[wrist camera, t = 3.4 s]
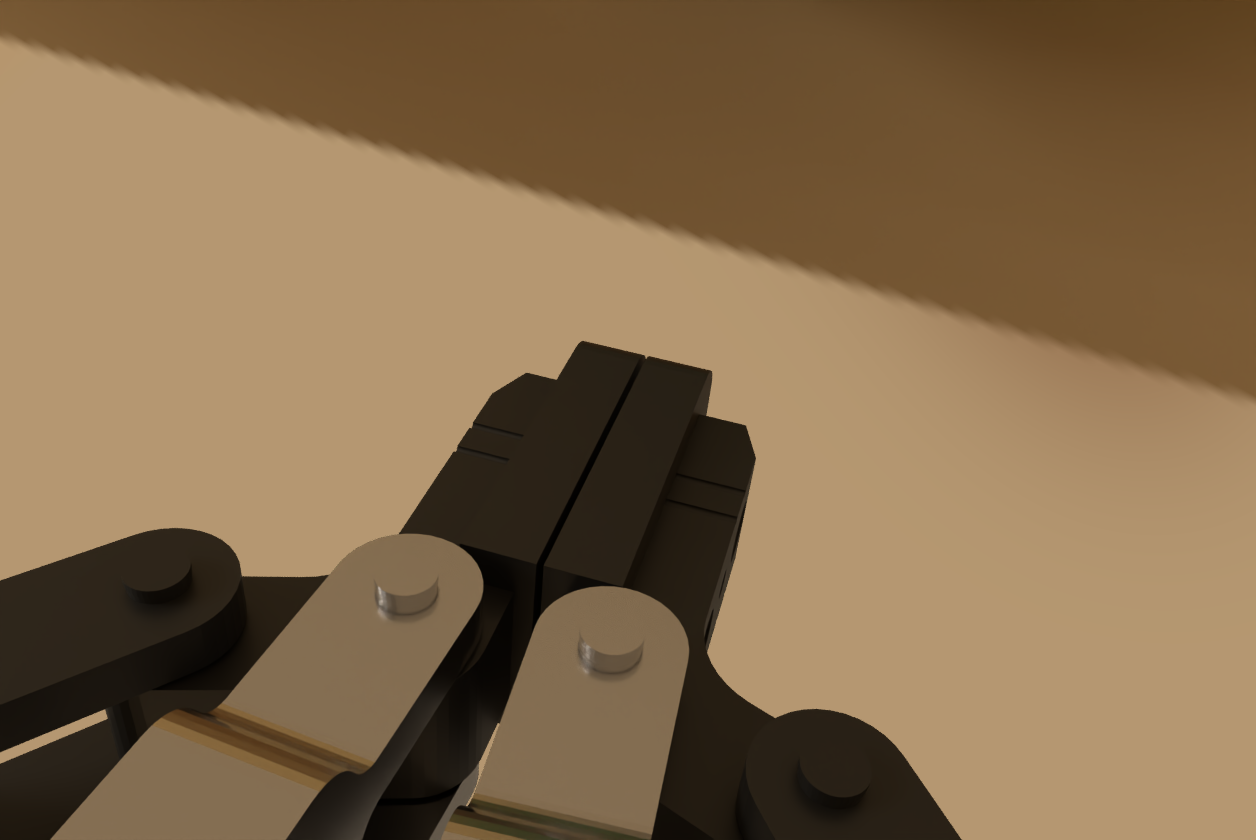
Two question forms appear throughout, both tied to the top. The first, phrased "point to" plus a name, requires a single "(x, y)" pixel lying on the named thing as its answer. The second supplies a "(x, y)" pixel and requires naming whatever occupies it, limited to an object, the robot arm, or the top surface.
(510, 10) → the top surface
